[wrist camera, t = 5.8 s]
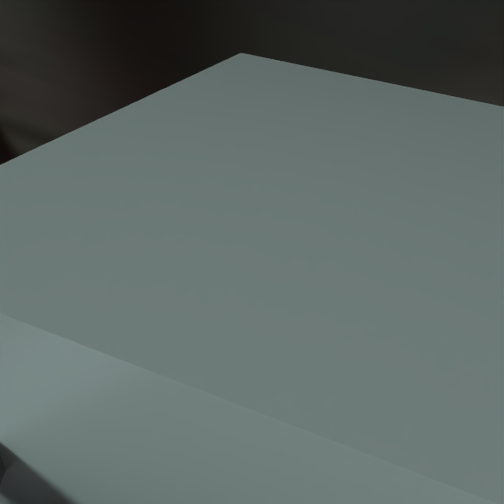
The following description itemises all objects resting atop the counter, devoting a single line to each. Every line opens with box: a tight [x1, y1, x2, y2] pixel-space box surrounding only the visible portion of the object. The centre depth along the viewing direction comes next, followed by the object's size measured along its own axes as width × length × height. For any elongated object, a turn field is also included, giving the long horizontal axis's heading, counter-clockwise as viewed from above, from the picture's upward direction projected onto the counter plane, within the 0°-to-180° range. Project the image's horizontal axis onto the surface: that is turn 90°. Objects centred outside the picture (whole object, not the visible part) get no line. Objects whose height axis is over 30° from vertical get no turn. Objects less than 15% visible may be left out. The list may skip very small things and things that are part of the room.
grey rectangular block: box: [0, 53, 504, 504], centre depth 8 cm, size 7×7×9 cm
